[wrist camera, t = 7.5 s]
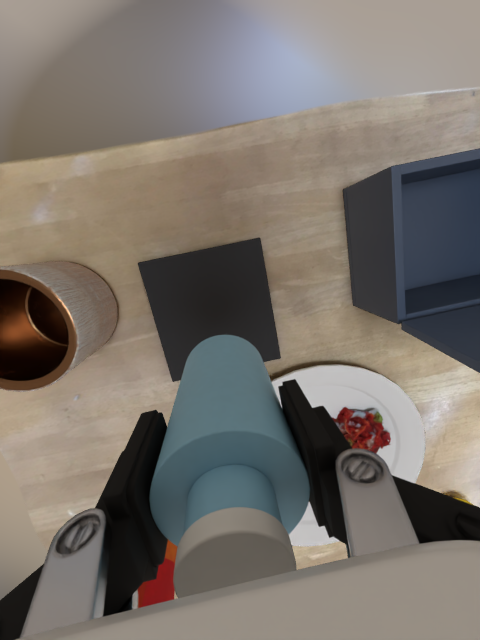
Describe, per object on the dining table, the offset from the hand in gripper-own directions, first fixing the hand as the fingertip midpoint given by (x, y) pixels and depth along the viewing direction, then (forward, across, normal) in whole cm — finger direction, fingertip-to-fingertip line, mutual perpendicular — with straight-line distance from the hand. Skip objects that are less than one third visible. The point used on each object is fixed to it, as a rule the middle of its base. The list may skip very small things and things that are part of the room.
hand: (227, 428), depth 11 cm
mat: (+22, +1, 0) cm, 22 cm away
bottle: (+5, 0, 0) cm, 5 cm away
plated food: (+23, -9, +24) cm, 34 cm away
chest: (+22, -26, -4) cm, 35 cm away
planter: (+23, +17, -4) cm, 28 cm away
